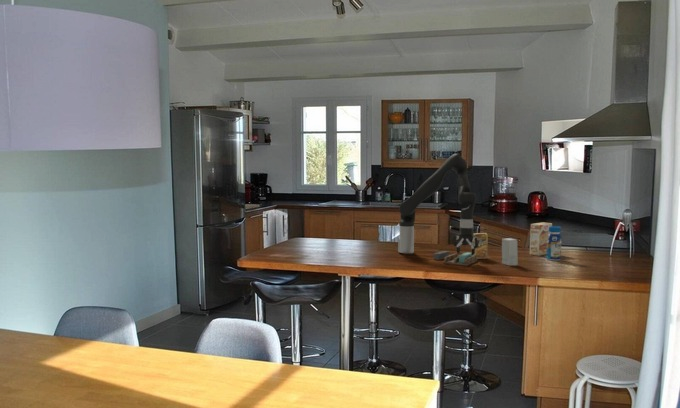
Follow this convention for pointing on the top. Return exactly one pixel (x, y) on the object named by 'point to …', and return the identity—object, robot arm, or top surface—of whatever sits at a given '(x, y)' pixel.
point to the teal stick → (464, 256)
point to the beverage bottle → (554, 243)
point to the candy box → (481, 245)
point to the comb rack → (455, 260)
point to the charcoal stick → (441, 255)
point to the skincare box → (509, 251)
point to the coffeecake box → (539, 238)
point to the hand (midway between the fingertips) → (465, 254)
